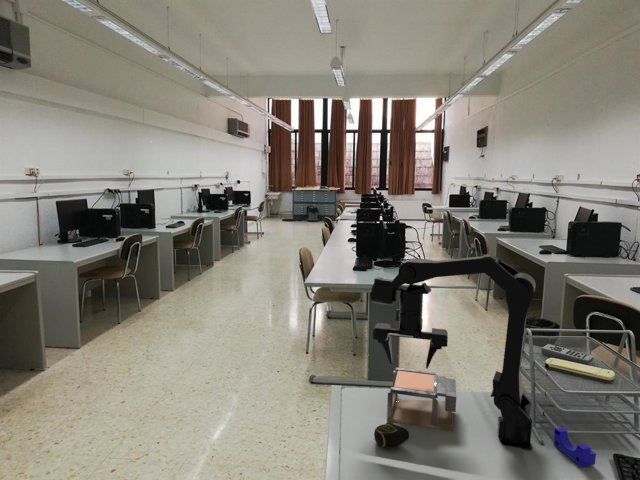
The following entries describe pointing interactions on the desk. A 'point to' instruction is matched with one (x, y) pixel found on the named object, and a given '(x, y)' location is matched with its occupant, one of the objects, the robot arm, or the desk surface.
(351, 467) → the desk surface
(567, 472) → the desk surface
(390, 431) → the tape measure
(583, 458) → the cable holder
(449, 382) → the trapdoor
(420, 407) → the framed copper bin
